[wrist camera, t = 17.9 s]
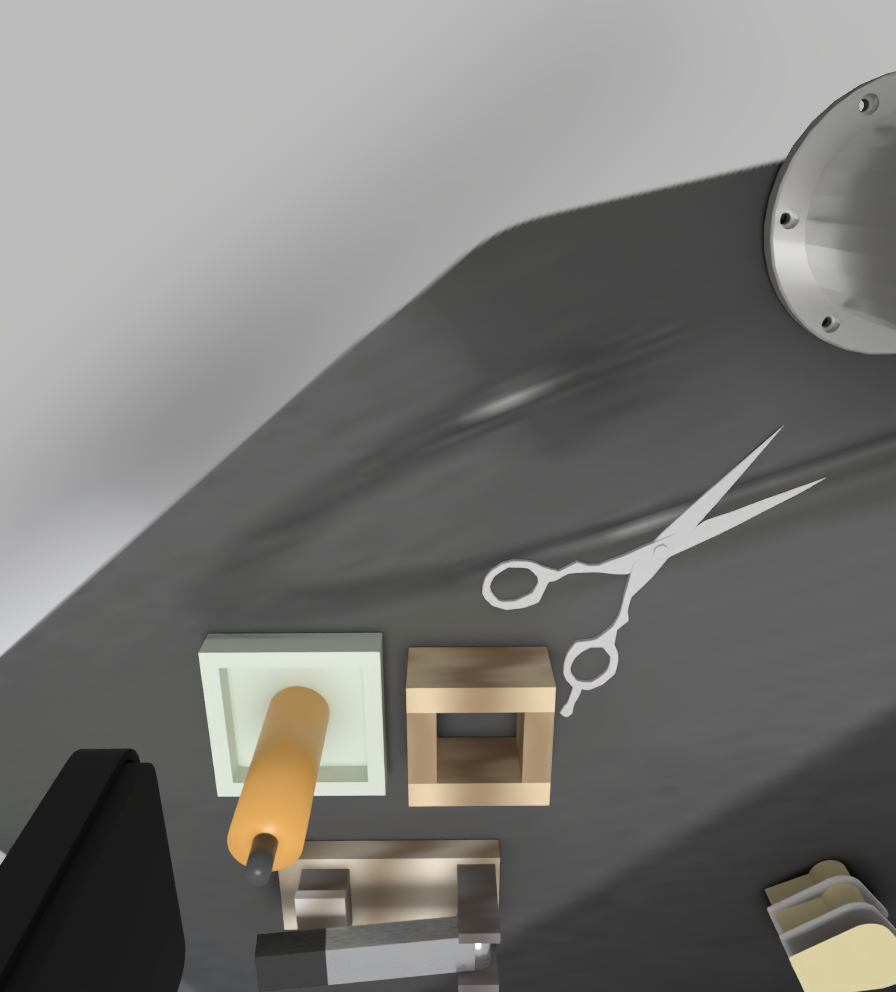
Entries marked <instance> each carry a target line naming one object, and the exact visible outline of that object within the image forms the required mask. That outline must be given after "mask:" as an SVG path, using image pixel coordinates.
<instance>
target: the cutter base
mask: <svg viewBox="0 0 896 992" xmlns="http://www.w3.org/2000/svg"><path fill="white" fill-rule="evenodd" d="M278 872H279V881H280V891H281V900H282V910H283V919H284V929H298V931H302V930H312V929H323V928H334V927H345V926H355V925H366V924H377V923H388V922H398V921H409V920H420V919H431V918H441V917H452V916H458V940H459V944H488V943H491V961H490V964H489V966H488V967H487V968H485V969H484V970H480V971H476V970H472V971H462V972H458V992H499V980H498V966H497V952H496V943H500V921H499V909H498V907H499V872H500V853H499V842H498V840H391V841H304V846H303V851H302V853H301V855H300V857H299V858H298V860H297V861H296V862H295V863H293V864H292V865H290V866H289V867H287V868H284V869H281V870H278Z"/></svg>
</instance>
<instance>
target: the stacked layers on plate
mask: <svg viewBox="0 0 896 992" xmlns="http://www.w3.org/2000/svg"><path fill="white" fill-rule="evenodd" d="M765 892H766V894H767V896H768V898H769V900H770V903H771V905H772V906H770V907H768V908H767V910H768V913H769V915H770V917H771V919H772V921H773V923H774V925H775V928H776V930H777V932H778V934H779V937H780V940H781V942H782V944H783V946H784V948H785V950H786V952H787V954H788V957H789V960H790V962H791V964H792V966H793V968H794V970H795V972H796V975H797V977H798V979H799V981H800V983H801V985H802V987H803V989H804V991H805V992H856V991H864V990H872V989H880V988H885V987H888V986H891V985H894V984H896V929H895V928H894V926H893V925H892V924H891V923H890V922H889V921H888V920H887V917H888V912H887V910H886V909H885V907H884V906H883V905H882V904H881V903H880V902H879V901H878V900H877V899H876V898H875V897H874V896H873V894H872V893H871V892H870V891H869V890H868V889H867V888H866V887H865V886H864V885H863V884H862V883H861V882H860V881H859V880H858V879H856V878H854V877H852V876H850V874H849V873H848V871H847V869H846V867H845V866H844V865H843V864H842V863H841V862H838V861H834V860H827V861H823V862H820V863H818V864H816V865H815V866H814V867H813V868H812V869H811V870H810V872H809V874H806V875H804V876H801V877H798V878H795V879H792V880H789V881H787V882H784V883H781V884H778V885H775V886H772V887H770V888H767V889H765Z"/></svg>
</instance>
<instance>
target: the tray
mask: <svg viewBox="0 0 896 992" xmlns="http://www.w3.org/2000/svg"><path fill="white" fill-rule="evenodd" d="M198 654H199V661H200V669H201V676H202V683H203V691H204V698H205V705H206V713H207V720H208V727H209V735H210V742H211V749H212V757H213V764H214V771H215V779H216V786H217V793H218V796H240V795H241V792H242V789H243V786H244V783H245V779H246V776H247V773H248V770H249V767H250V764H251V761H252V757H253V754H254V751H255V748H256V745H257V742H258V739H259V735H260V732H261V729H262V726H263V723H264V720H265V717H266V713H267V710H268V707H269V704H270V702H271V700H272V698H273V697H274V696H275V695H276V694H277V693H278V692H279V691H281V690H283V689H285V688H289V687H296V686H298V687H306V688H309V689H312V690H314V691H316V692H317V693H319V694H320V695H321V696H322V697H323V698H324V699H325V700H326V702H327V704H328V706H329V711H330V716H329V721H328V726H327V731H326V736H325V741H324V746H323V751H322V756H321V761H320V766H319V771H318V776H317V781H316V786H315V791H314V796H353V795H386V784H387V773H388V771H387V744H386V717H385V690H384V663H383V636H382V633H244V634H208V635H207V637H206V639H205V641H204V643H203V645H202V647H201V649H200V651H199V653H198Z"/></svg>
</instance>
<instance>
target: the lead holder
mask: <svg viewBox="0 0 896 992" xmlns="http://www.w3.org/2000/svg"><path fill="white" fill-rule="evenodd" d="M555 693H556V686H555V681H554V677H553V673H552V668H551V664H550V659H549V655H548V650H547V647H409V652H408V667H407V681H406V708H407V747H408V787H409V806H515V805H549V799H550V782H551V764H552V746H553V729H554V711H555ZM508 712H517V720H516V737H455V738H437V713H508Z"/></svg>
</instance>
